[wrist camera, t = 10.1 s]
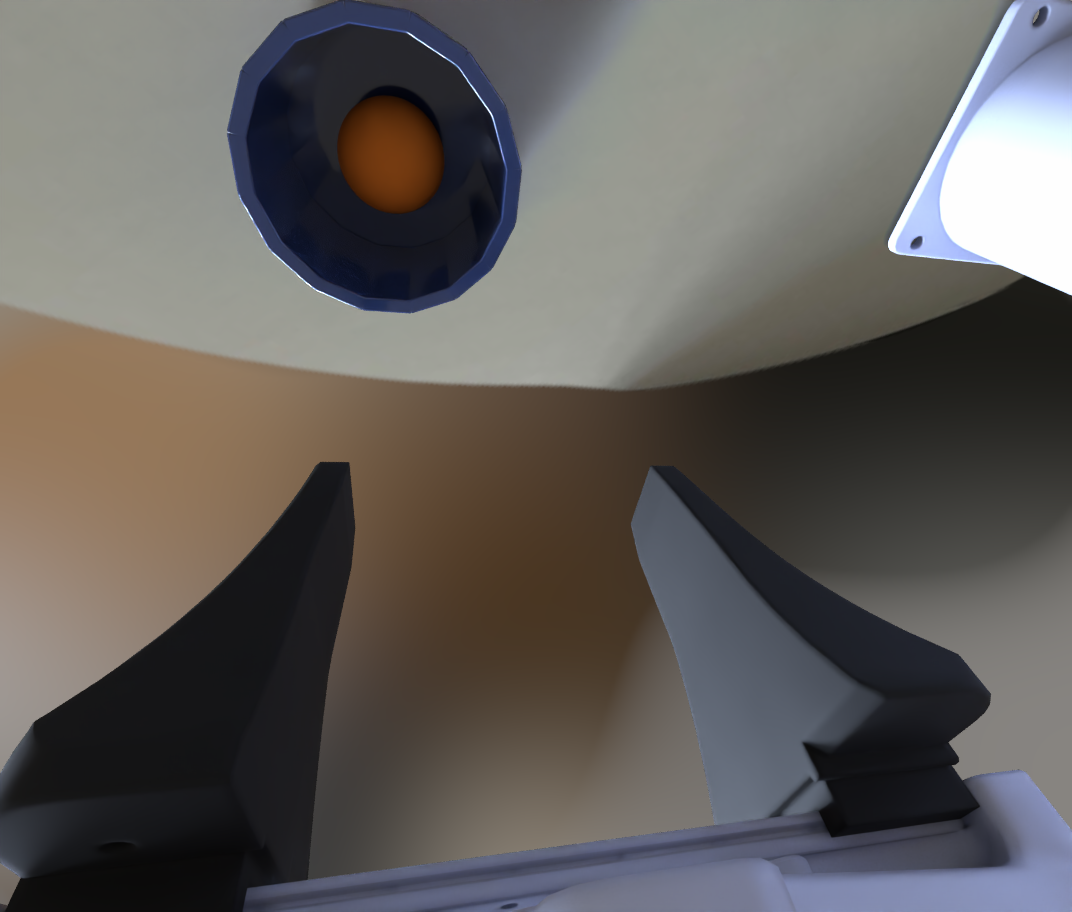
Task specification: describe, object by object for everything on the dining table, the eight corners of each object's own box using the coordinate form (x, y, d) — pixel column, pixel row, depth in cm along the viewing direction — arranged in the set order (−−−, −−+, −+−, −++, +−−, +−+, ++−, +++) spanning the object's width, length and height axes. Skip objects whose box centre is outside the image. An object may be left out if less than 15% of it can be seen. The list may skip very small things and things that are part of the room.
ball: (440, 203, 18) (445, 231, 16) (345, 194, 17) (337, 221, 15) (443, 97, 16) (449, 111, 14) (338, 82, 16) (326, 94, 13)
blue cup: (511, 29, 16) (536, 32, 12) (491, 262, 20) (505, 320, 16) (259, -16, 14) (197, -27, 11) (293, 245, 19) (257, 304, 15)
